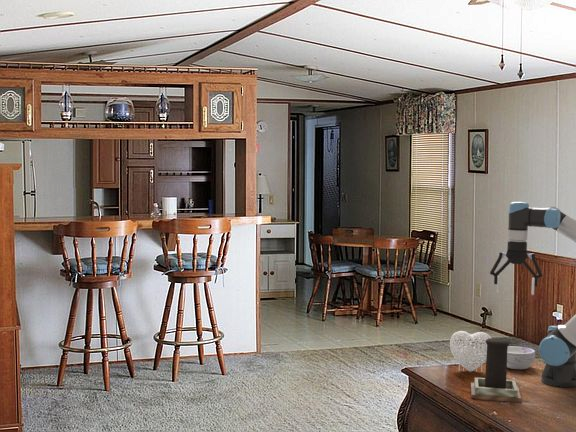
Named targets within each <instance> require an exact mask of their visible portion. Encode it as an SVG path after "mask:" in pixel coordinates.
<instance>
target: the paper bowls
mask: <svg viewBox="0 0 576 432" xmlns="http://www.w3.org/2000/svg"><path fill="white" fill-rule="evenodd" d="M535 361H536V351H535V350H534V349H533V348H529V347H525V346H517V345H515V346H514V345H513V346H512V345H510V346H509V345H508V350H507V369H511V370H526V369H529V368H530V367H531V364H533V363H535Z"/></svg>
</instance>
